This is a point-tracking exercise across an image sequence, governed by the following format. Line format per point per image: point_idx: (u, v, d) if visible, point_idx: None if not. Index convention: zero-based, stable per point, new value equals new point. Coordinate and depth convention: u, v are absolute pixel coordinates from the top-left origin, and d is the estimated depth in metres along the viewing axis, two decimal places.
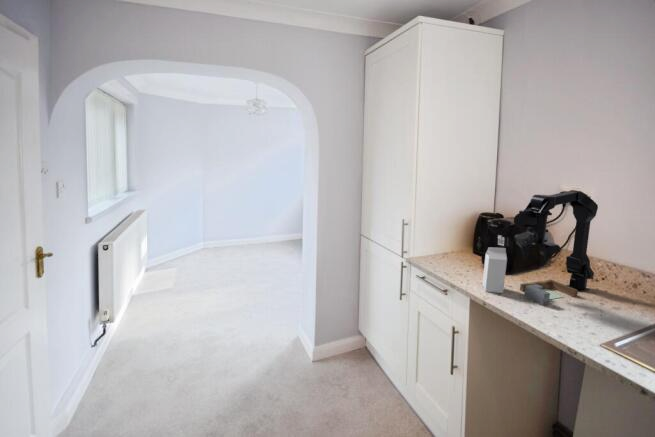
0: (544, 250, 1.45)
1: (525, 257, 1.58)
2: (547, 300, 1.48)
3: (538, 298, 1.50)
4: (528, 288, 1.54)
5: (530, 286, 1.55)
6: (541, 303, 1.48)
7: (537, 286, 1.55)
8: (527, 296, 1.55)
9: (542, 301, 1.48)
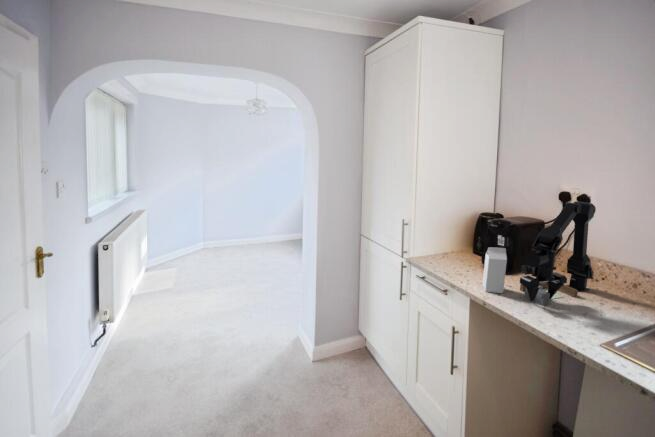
0: None
1: None
2: (547, 300, 1.48)
3: (538, 298, 1.50)
4: None
5: None
6: (541, 303, 1.48)
7: None
8: (527, 296, 1.55)
9: (542, 301, 1.48)
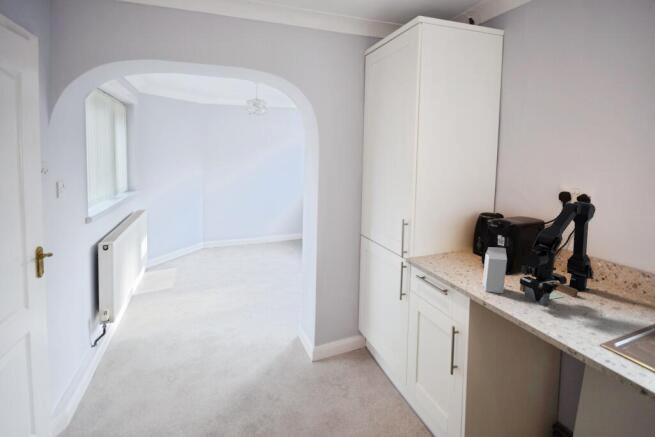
0: None
1: None
2: (547, 300, 1.48)
3: None
4: (528, 288, 1.54)
5: None
6: (541, 303, 1.48)
7: None
8: (527, 296, 1.55)
9: (542, 301, 1.48)
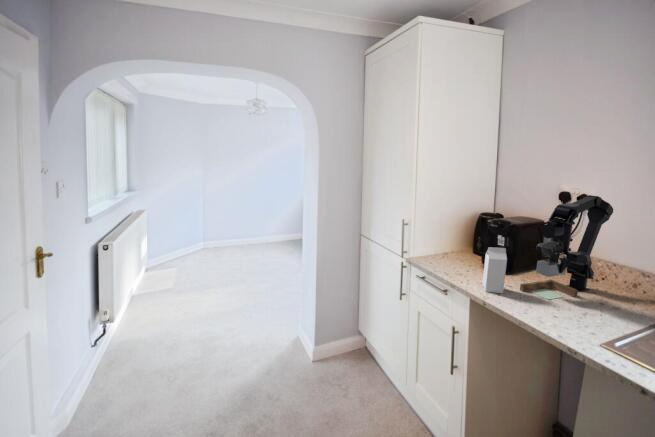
0: (571, 259, 1.47)
1: None
2: None
3: None
4: (552, 266, 1.53)
5: (547, 263, 1.54)
6: (563, 272, 1.56)
7: (544, 261, 1.57)
8: (551, 274, 1.54)
9: (564, 270, 1.56)
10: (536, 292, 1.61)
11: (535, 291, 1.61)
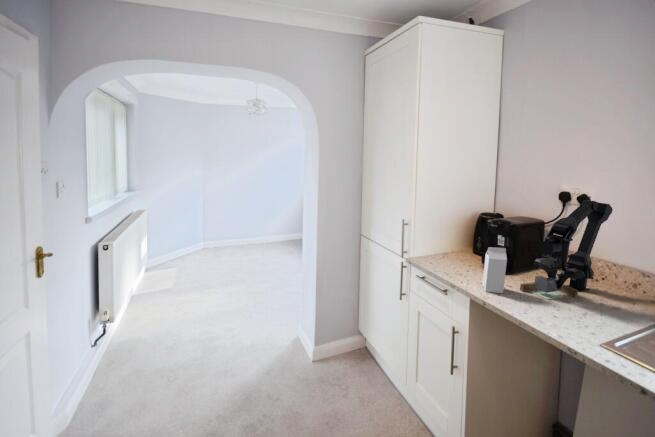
0: (568, 276, 1.49)
1: None
2: None
3: None
4: (550, 282, 1.54)
5: (545, 279, 1.56)
6: (561, 288, 1.57)
7: (542, 277, 1.58)
8: (549, 290, 1.55)
9: (562, 286, 1.57)
10: (536, 292, 1.61)
11: (535, 291, 1.61)
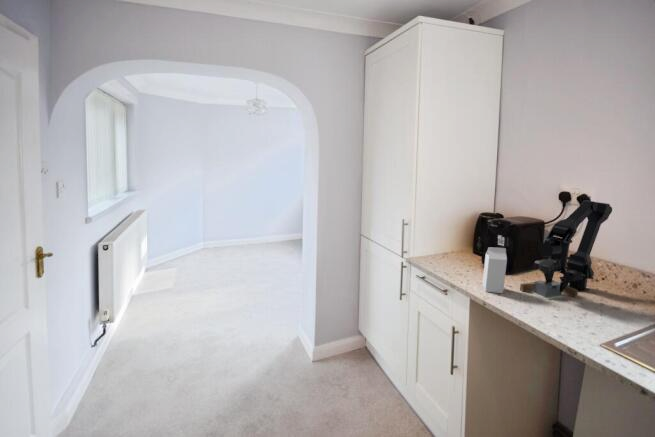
0: (568, 278, 1.49)
1: None
2: None
3: (558, 291, 1.57)
4: (549, 287, 1.55)
5: (544, 284, 1.56)
6: (560, 293, 1.58)
7: (542, 282, 1.59)
8: (548, 295, 1.56)
9: None
10: None
11: None
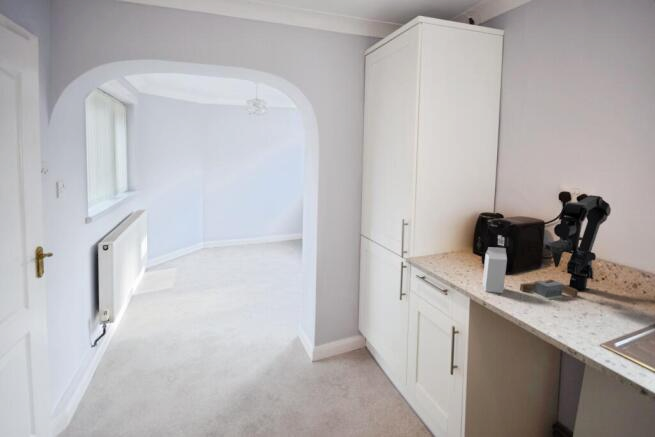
0: (580, 258, 1.45)
1: (557, 264, 1.59)
2: None
3: (558, 291, 1.57)
4: (549, 287, 1.55)
5: (544, 284, 1.56)
6: (560, 293, 1.58)
7: (542, 282, 1.59)
8: (548, 295, 1.56)
9: (561, 291, 1.58)
10: None
11: None
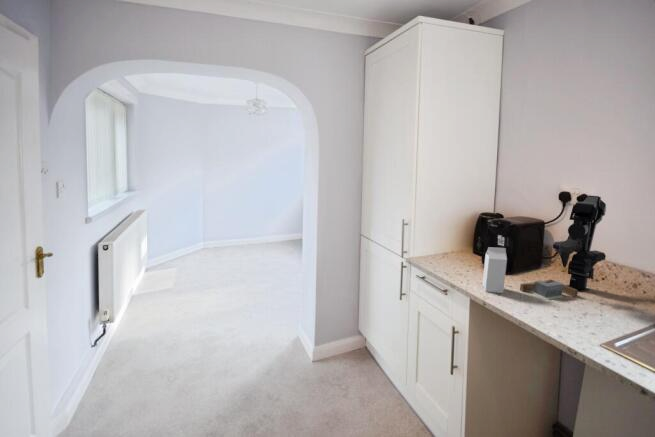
0: (590, 258, 1.44)
1: (565, 264, 1.57)
2: None
3: (558, 291, 1.57)
4: (549, 287, 1.55)
5: (544, 284, 1.56)
6: (560, 293, 1.58)
7: (542, 282, 1.59)
8: (548, 295, 1.56)
9: (561, 291, 1.58)
10: None
11: None
